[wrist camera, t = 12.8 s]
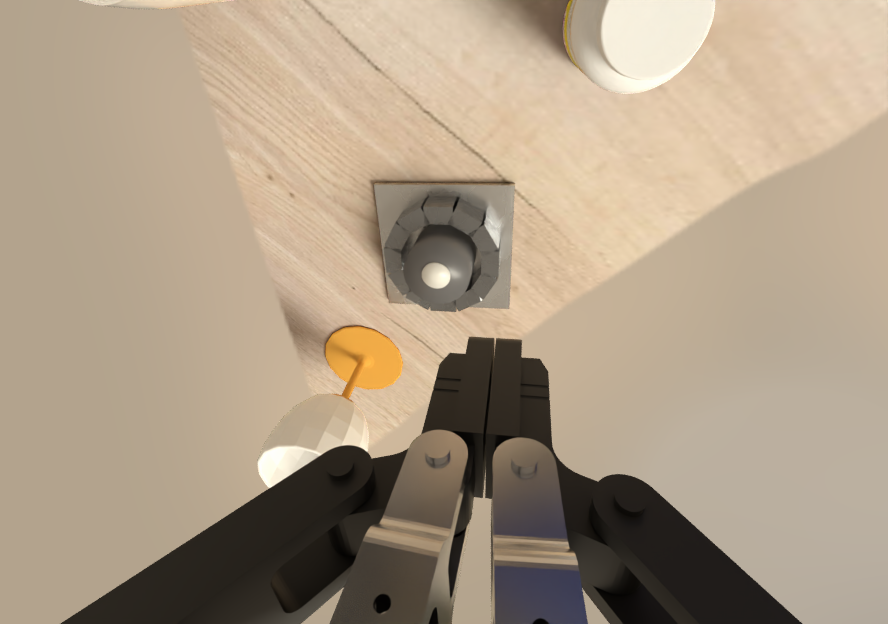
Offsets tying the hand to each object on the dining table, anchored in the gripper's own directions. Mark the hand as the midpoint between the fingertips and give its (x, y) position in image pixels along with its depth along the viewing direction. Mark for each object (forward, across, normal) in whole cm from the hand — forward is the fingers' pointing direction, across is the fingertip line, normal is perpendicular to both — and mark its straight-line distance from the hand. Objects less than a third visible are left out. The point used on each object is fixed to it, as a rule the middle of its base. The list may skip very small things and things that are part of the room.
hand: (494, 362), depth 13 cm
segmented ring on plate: (+27, +6, +9) cm, 29 cm away
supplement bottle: (+27, -6, -8) cm, 29 cm away
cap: (+26, +6, +9) cm, 28 cm away
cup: (+27, +16, +23) cm, 39 cm away
